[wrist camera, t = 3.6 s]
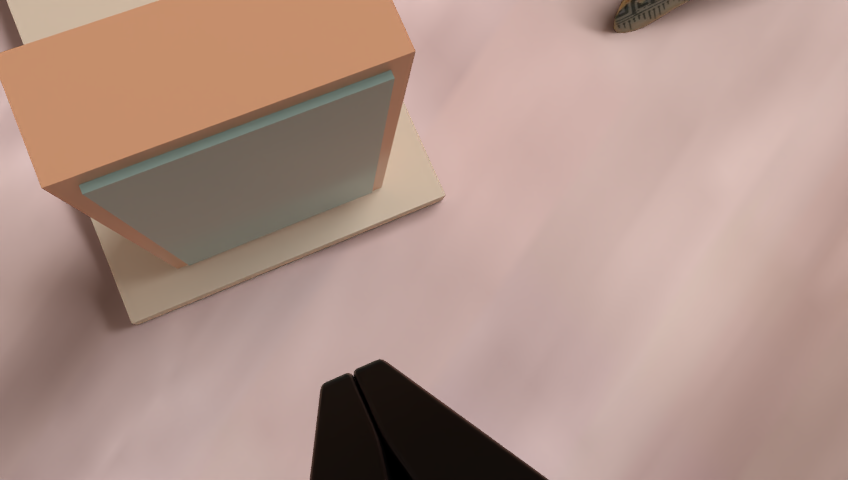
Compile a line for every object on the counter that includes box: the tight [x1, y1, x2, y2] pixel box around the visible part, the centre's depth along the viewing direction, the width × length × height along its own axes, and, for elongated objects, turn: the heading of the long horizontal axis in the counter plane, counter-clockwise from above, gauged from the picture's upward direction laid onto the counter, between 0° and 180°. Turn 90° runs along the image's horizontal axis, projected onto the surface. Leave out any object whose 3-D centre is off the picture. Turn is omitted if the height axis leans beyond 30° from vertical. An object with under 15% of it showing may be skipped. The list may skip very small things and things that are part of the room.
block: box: [0, 0, 415, 269], centre depth 15 cm, size 2×6×9 cm, turn 114°
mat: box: [7, 0, 445, 325], centre depth 21 cm, size 12×9×1 cm
